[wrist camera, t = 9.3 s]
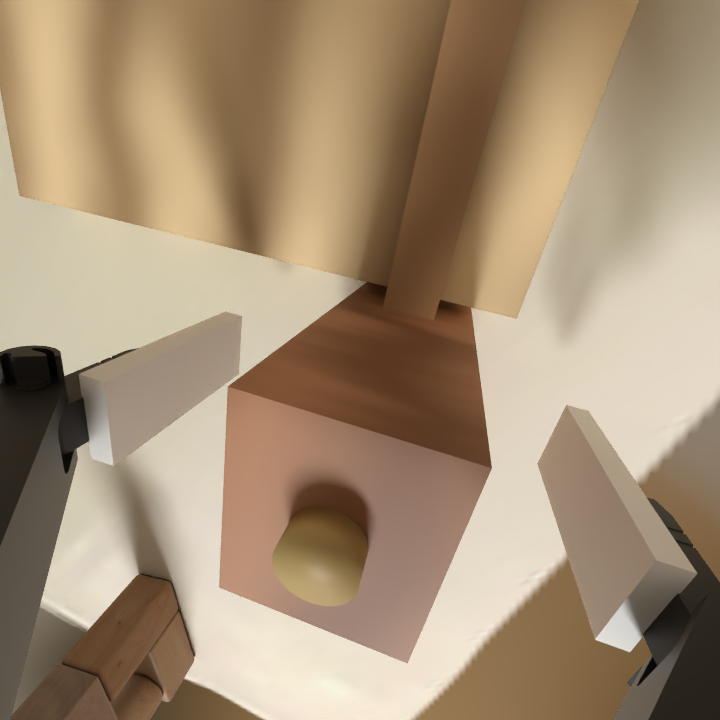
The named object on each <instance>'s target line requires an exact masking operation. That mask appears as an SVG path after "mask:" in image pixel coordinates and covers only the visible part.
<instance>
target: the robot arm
mask: <svg viewBox="0 0 720 720" xmlns="http://www.w3.org/2000/svg"><path fill="white" fill-rule="evenodd" d="M241 326H242V316H240V315H236V314H232V313H229V312H224V313H221V314H219V315H216V316H214V317H212V318H209V319H207V320H205V321H202V322H200V323H198V324H195V325H193V326H191V327H188V328H186V329H183V330H181V331H179V332H176V333H174V334H172V335H169V336H167V337H165V338H162V339H160V340H158V341H155V342H153V343H150V344H148V345H146V346H143V347H141V348H137V349H132V350H127V351H124V352H122V353H119V354H117V355H115V356H112V358H107V359H105V360H103V361H101V363H99V362H98V363H95V364H93V365H90V366H88V367H86V368H83V369H81V370H78V371H76V372H74V373H71V374H69V375H66V376H64V371H63V365H62V359H61V353H60V351H58V350H57V349H55V348H52V347H47V346H22V347H16V348H11V349H7V350H5V351H2V352H0V720H10V719H11V715H12V711H13V707H14V703H15V699H16V695H17V691H18V687H19V684H20V679H21V676H22V672H23V668H24V664H25V660H26V657H27V653H28V649H29V645H30V641H31V637H32V633H33V630H34V626H35V622H36V618H37V614H38V610H39V607H40V603H41V599H42V595H43V591H44V587H45V583H46V579H47V576H48V572H49V568H50V564H51V560H52V556H53V552H54V549H55V545H56V541H57V537H58V533H59V529H60V525H61V521H62V518H63V514H64V510H65V506H66V502H67V498H68V494H69V491H70V487H71V483H72V479H73V475H74V471H75V467H76V464H77V460H78V458H77V451H76V449H77V448H78V447H80V446H81V445H83V444H85V443H86V442H89V449H90V456H91V458H92V459H95V460H98V461H101V462H103V463H106V464H109V465H112V466H114V465H116V464H117V463H118V462H120V461H121V460H123V459H124V458H125V457H127V456H128V455H129V454H131V453H132V452H133V451H135V450H136V449H137V448H139V447H140V446H142V445H143V444H144V443H146V442H147V441H148V440H150V439H151V438H152V437H154V436H155V435H156V434H158V433H159V432H161V431H162V430H163V429H165V428H166V427H167V426H169V425H170V424H171V423H173V422H174V421H175V420H177V419H178V418H180V417H181V416H182V415H184V414H185V413H186V412H188V411H189V410H190V409H192V408H193V407H194V406H196V405H197V404H199V403H200V402H201V401H203V400H204V399H205V398H207V397H208V396H209V395H211V394H212V393H213V392H215V391H216V390H218V389H219V388H220V387H222V386H223V385H224V384H226V383H227V382H228V381H230V380H231V379H233V378H234V377H235V376H237V375H238V374H239V360H240V343H241ZM538 467H539V470H540V473H541V476H542V479H543V482H544V485H545V488H546V491H547V494H548V497H549V500H550V503H551V506H552V509H553V512H554V516H555V519H556V522H557V525H558V528H559V531H560V534H561V537H562V540H563V543H564V546H565V549H566V552H567V555H568V558H569V561H570V565H571V568H572V571H573V574H574V577H575V579H576V583H577V586H578V589H579V592H580V595H581V598H582V601H583V604H584V607H585V610H586V613H587V617H588V620H589V623H590V626H591V629H592V632H593V635H594V638H595V640H598V641H601V642H603V643H606V644H609V645H612V646H614V647H617V648H620V649H623V650H626V651H628V652H630V651H631V650H632V649H633V648H634V647H635V645H636V644H637V643H638V642H639V641H640V639H641V638H642V637H643V636H644V638H645V640H646V642H647V645H648V647H649V649H650V651H651V654H652V656H651V657H650V658H649V659H648V660H647V661H646V662H645V663H644V664H643V666H642V667H641V668H640V669H639V670H638V671H637V672H636V673H635V674H634V675H633V677H632V678H631V679H630V680H629V681H628V682H627V683H628V684H629V685H630V686H631V688H630V690H629V692H628V693H627V695H626V697H625V699H624V701H623V702H622V704H621V706H620V708H619V710H618V711H617V713H616V715H615V717H614V719H613V720H720V582H719V581H718V579H717V578H716V577H715V575H714V574H713V572H712V571H711V569H710V568H709V567H708V565H707V564H706V562H705V561H704V560H703V558H702V557H701V555H700V554H699V553H698V551H697V550H696V548H693V544H692V543H691V542H690V540H689V539H688V537H687V536H686V535H685V534H683V530H682V529H681V527H680V526H679V525H678V523H677V522H676V521H675V519H674V518H673V516H672V515H671V514H670V513H669V512H667V511H666V510H665V509H664V508H663V507H662V506H661V505H660V504H659V503H658V502H656V501H655V500H654V499H650V498H647V497H646V496H645V495H644V493H643V492H642V490H641V489H640V487H639V486H638V484H637V483H636V481H635V480H634V478H633V477H632V475H631V474H630V472H629V471H628V469H627V468H626V466H625V465H624V463H623V462H622V460H621V459H620V457H619V456H618V454H617V453H616V451H615V450H614V448H613V447H612V445H611V444H610V442H609V441H608V440H607V438H606V437H605V435H604V434H603V432H602V431H601V429H600V428H599V426H598V425H597V423H596V422H595V420H594V419H593V417H592V416H591V414H590V413H589V411H586V410H583V409H579V408H575V407H572V406H568V405H566V407H565V409H564V411H563V413H562V415H561V417H560V419H559V421H558V423H557V425H556V427H555V429H554V431H553V433H552V435H551V437H550V440H549V442H548V444H547V446H546V448H545V450H544V452H543V454H542V456H541V458H540V460H539V462H538Z"/></svg>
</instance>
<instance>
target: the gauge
mask: <svg viewBox="0 0 720 720" xmlns="http://www.w3.org/2000/svg"><path fill="white" fill-rule="evenodd" d="M525 1H526V0H451V3H450V7H449V12H448V16H447V21H446V25H445V30H444V34H443V39H442V43H441V48H440V52H439V57H438V62H437V66H436V71H435V75H434V80H433V84H432V89H431V93H430V98H429V102H428V107H427V111H426V116H425V120H424V125H423V129H422V134H421V138H420V143H419V147H418V152H417V156H416V161H415V165H414V170H413V174H412V179H411V183H410V188H409V192H408V197H407V201H406V206H405V210H404V215H403V219H402V224H401V228H400V233H399V237H398V242H397V246H396V251H395V255H394V260H393V264H392V269H391V273H390V278H389V282H388V287H387V286H383V285H379V284H374V283H370V282H367V283H366V284H364V285H363V286H362V287H360V288H359V289H358V290H356V291H355V292H354V293H352V294H351V295H350V296H348V297H347V298H346V299H344V300H343V301H342V302H340V303H339V304H338V305H336V306H335V307H334V308H332V309H331V310H330V311H328V312H327V313H326V314H324V315H323V316H322V317H320V318H319V319H317V320H316V321H315V322H313V323H312V324H311V325H309V326H308V327H307V328H305V329H304V330H303V331H301V332H300V333H299V334H297V335H296V336H295V337H293V338H292V339H291V340H289V341H288V342H287V343H285V344H284V345H283V346H281V347H280V348H279V349H277V350H276V351H275V352H273V353H272V354H271V355H269V356H268V357H267V358H265V359H264V360H263V361H261V362H260V363H259V364H257V365H256V366H255V367H253V368H252V369H251V370H249V371H248V372H247V373H245V374H244V375H243V376H241V377H240V378H239V379H237V380H236V381H235V382H233V383H232V384H231V385H229V386H228V396H227V420H226V443H225V466H224V489H223V512H222V535H221V558H220V582H219V587H220V588H222V589H225V590H227V591H229V592H232V593H234V594H237V595H239V596H242V597H244V598H247V599H249V600H252V601H254V602H257V603H259V604H262V605H264V606H267V607H269V608H272V609H274V610H277V611H279V612H282V613H284V614H286V615H289V616H291V617H294V618H296V619H299V620H301V621H304V622H306V623H309V624H311V625H314V626H316V627H319V628H321V629H324V630H326V631H329V632H331V633H334V634H336V635H338V636H341V637H343V638H346V639H348V640H351V641H353V642H356V643H358V644H361V645H363V646H366V647H368V648H371V649H373V650H376V651H378V652H381V653H383V654H386V655H388V656H391V657H393V658H395V659H398V660H400V661H403V662H405V663H408V661H409V659H410V656H411V654H412V652H413V649H414V647H415V645H416V642H417V640H418V638H419V635H420V633H421V631H422V629H423V626H424V624H425V622H426V619H427V617H428V615H429V612H430V610H431V608H432V605H433V603H434V601H435V598H436V596H437V594H438V591H439V589H440V587H441V584H442V582H443V580H444V578H445V575H446V573H447V571H448V568H449V566H450V564H451V561H452V559H453V557H454V554H455V552H456V550H457V547H458V545H459V543H460V540H461V538H462V536H463V534H464V531H465V529H466V527H467V524H468V522H469V520H470V517H471V515H472V513H473V510H474V508H475V506H476V503H477V501H478V499H479V496H480V494H481V492H482V489H483V487H484V485H485V483H486V480H487V478H488V476H489V473H490V471H491V469H492V467H491V459H490V451H489V444H488V436H487V428H486V420H485V413H484V405H483V397H482V390H481V382H480V374H479V367H478V359H477V351H476V343H475V336H474V328H473V320H472V313H471V307H468V306H464V305H460V304H455V303H451V302H447V301H443V300H440V298H441V294H442V291H443V287H444V284H445V280H446V277H447V273H448V270H449V266H450V263H451V260H452V256H453V253H454V249H455V246H456V242H457V239H458V235H459V232H460V228H461V225H462V221H463V218H464V214H465V211H466V207H467V204H468V200H469V197H470V193H471V190H472V186H473V183H474V179H475V176H476V172H477V169H478V165H479V162H480V158H481V155H482V151H483V148H484V144H485V141H486V137H487V134H488V130H489V127H490V123H491V120H492V116H493V113H494V109H495V106H496V102H497V99H498V95H499V92H500V88H501V85H502V81H503V78H504V74H505V71H506V67H507V64H508V60H509V57H510V53H511V50H512V46H513V43H514V39H515V36H516V33H517V29H518V26H519V22H520V19H521V15H522V12H523V8H524V5H525Z"/></svg>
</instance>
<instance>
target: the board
mask: <svg viewBox="0 0 720 720" xmlns="http://www.w3.org/2000/svg"><path fill="white" fill-rule="evenodd" d="M639 1H640V0H526V1H525V5H524V8H523V12H522V15H521V19H520V22H519V26H518V29H517V33H516V36H515V39H514V43H513V46H512V50H511V53H510V57H509V60H508V64H507V67H506V71H505V74H504V78H503V81H502V85H501V88H500V92H499V95H498V99H497V102H496V106H495V109H494V113H493V116H492V120H491V123H490V127H489V130H488V134H487V137H486V141H485V144H484V148H483V151H482V155H481V158H480V162H479V165H478V169H477V172H476V176H475V179H474V183H473V186H472V190H471V193H470V197H469V200H468V204H467V207H466V211H465V214H464V218H463V221H462V225H461V228H460V232H459V235H458V239H457V242H456V246H455V249H454V253H453V256H452V260H451V263H450V266H449V270H448V273H447V277H446V280H445V284H444V287H443V291H442V294H441V298H440V300H443V301H447V302H451V303H455V304H460V305H464V306H468V307H472V308H476V309H480V310H484V311H488V312H492V313H496V314H500V315H504V316H508V317H512V318H516V319H517V317H518V314H519V311H520V309H521V306H522V304H523V301H524V298H525V296H526V293H527V291H528V288H529V285H530V283H531V280H532V278H533V275H534V273H535V270H536V267H537V265H538V262H539V260H540V257H541V254H542V252H543V249H544V247H545V244H546V241H547V239H548V236H549V234H550V231H551V229H552V226H553V223H554V221H555V218H556V216H557V213H558V210H559V208H560V205H561V203H562V200H563V197H564V195H565V192H566V190H567V187H568V184H569V182H570V179H571V177H572V174H573V172H574V169H575V166H576V164H577V161H578V159H579V156H580V153H581V151H582V148H583V146H584V143H585V140H586V138H587V135H588V133H589V130H590V127H591V125H592V122H593V120H594V117H595V115H596V112H597V109H598V107H599V104H600V102H601V99H602V96H603V94H604V91H605V89H606V86H607V83H608V81H609V78H610V76H611V73H612V70H613V68H614V65H615V63H616V60H617V58H618V55H619V52H620V50H621V47H622V45H623V42H624V39H625V37H626V34H627V32H628V29H629V26H630V24H631V21H632V19H633V16H634V13H635V11H636V8H637V6H638V3H639ZM450 3H451V0H0V90H1V96H2V101H3V107H4V112H5V118H6V123H7V129H8V134H9V140H10V146H11V151H12V157H13V162H14V168H15V173H16V179H17V184H18V190H19V195H20V196H22V197H26V198H30V199H34V200H38V201H42V202H47V203H51V204H55V205H59V206H63V207H67V208H71V209H75V210H79V211H83V212H87V213H91V214H95V215H99V216H103V217H107V218H111V219H115V220H119V221H123V222H127V223H132V224H136V225H140V226H144V227H148V228H152V229H156V230H160V231H164V232H168V233H172V234H176V235H180V236H184V237H188V238H192V239H196V240H200V241H204V242H208V243H213V244H217V245H221V246H225V247H229V248H233V249H237V250H241V251H245V252H249V253H253V254H257V255H261V256H265V257H269V258H273V259H277V260H281V261H285V262H289V263H293V264H298V265H302V266H306V267H310V268H314V269H318V270H322V271H326V272H330V273H334V274H338V275H342V276H346V277H350V278H354V279H358V280H362V281H366V282H370V283H374V284H379V285H383V286H387V287H388V282H389V278H390V273H391V269H392V264H393V260H394V255H395V251H396V246H397V242H398V237H399V233H400V228H401V224H402V219H403V215H404V210H405V206H406V201H407V197H408V192H409V188H410V183H411V179H412V174H413V170H414V165H415V161H416V156H417V152H418V147H419V143H420V138H421V134H422V129H423V125H424V120H425V116H426V111H427V107H428V102H429V98H430V93H431V89H432V84H433V80H434V75H435V71H436V66H437V62H438V57H439V52H440V48H441V43H442V39H443V34H444V30H445V25H446V21H447V16H448V12H449V7H450Z"/></svg>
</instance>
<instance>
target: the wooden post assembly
mask: <svg viewBox="0 0 720 720" xmlns="http://www.w3.org/2000/svg"><path fill="white" fill-rule="evenodd" d="M193 661H194V656H193V653H192V650H191V647H190V644H189V640H188V637H187V634H186V631H185V628H184V624H183V621H182V618H181V615H180V612H179V611H178V603H177V600H176V597H175V594H174V591H173V587H172V584H171V583H170V582H169V581H166V580H162V579H158V578H153V577H149V576H145V575H141V574H140V575H137V576H136V577H135V578H134V579H133V580H132V582H131V583H130V584H129V585H128V586H127V587H126V588H125V589H124V591H123V592H122V593H121V594H120V595H119V596H118V597H117V598H116V600H115V601H114V602H113V603H112V604H111V605H110V606H109V607H108V609H107V610H106V611H105V612H104V613H103V614H102V615H101V616H100V618H99V619H98V620H97V621H96V622H95V623H94V624H93V625H92V626H91V628H90V629H89V630H88V631H87V632H86V633H85V635H83V637H82V638H81V639H80V640H79V641H78V642H77V643H76V644H75V646H74V647H73V648H72V649H71V650H70V651H69V653H68V654H67V655H66V656H65V657H64V658H63V660H62V664H63V665H62V664H58V665H56V666H55V667H54V669H53V670H52V671H51V672H50V673H49V674H48V675H47V677H46V678H45V679H44V680H43V681H42V682H41V683H40V684H39V686H38V687H37V688H36V689H35V690H34V691H33V692H32V693H31V695H30V696H29V697H28V698H27V699H26V700H25V701H24V702H23V703H22V705H21V706H20V707H19V708H18V709H17V710H16V711H15V712H14V713H13V715H12V716H11V719H10V720H150V718H151V717H152V715H153V713H154V712H155V710H156V709H157V707H158V705H159V704H160V702H161V700H162V701H165V702H169V701H170V700H171V699H172V697H173V696H174V694H175V692H176V690H177V689H178V687H179V686H180V684H181V682H182V680H183V679H184V677H185V675H186V674H187V672H188V670H189V669H190V667H191V665H192V664H193ZM109 701H110V702H109Z"/></svg>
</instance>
